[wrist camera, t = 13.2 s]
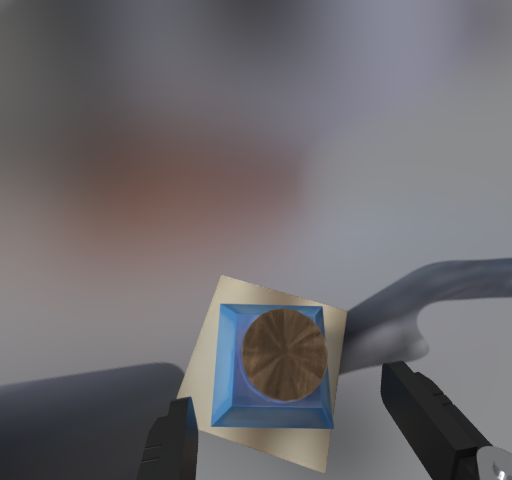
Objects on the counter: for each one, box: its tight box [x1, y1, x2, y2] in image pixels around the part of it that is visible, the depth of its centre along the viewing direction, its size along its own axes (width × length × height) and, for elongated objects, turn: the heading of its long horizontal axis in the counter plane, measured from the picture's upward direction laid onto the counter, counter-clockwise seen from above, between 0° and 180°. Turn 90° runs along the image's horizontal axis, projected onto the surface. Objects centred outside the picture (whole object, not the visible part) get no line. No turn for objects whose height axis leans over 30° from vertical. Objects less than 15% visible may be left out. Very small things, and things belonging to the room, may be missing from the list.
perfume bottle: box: [211, 304, 334, 429], centre depth 15 cm, size 6×6×12 cm
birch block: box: [177, 275, 347, 474], centre depth 24 cm, size 11×11×6 cm
